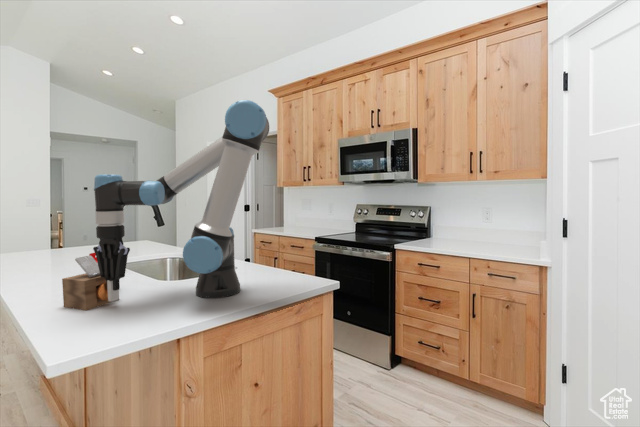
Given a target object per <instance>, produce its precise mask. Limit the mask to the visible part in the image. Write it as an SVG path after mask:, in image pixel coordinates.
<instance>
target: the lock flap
mask: <svg viewBox="0 0 640 427" xmlns="http://www.w3.org/2000/svg"><path fill="white" fill-rule="evenodd" d="M74 259H75V260H74V261H75V262H76V263H77V264H78V265H79V267H81V269H82V270H83V271H84V272H85V273H86V274H87V275H88V278H92V277H96V276H100V271H99V266H98V263H97V262H96V261H95V259H94V258H93V257H92V256H91V255H90V256H89V255H85V256H79V257H75V258H74ZM85 273H84V274H85ZM104 273H105V272H104Z"/></svg>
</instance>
